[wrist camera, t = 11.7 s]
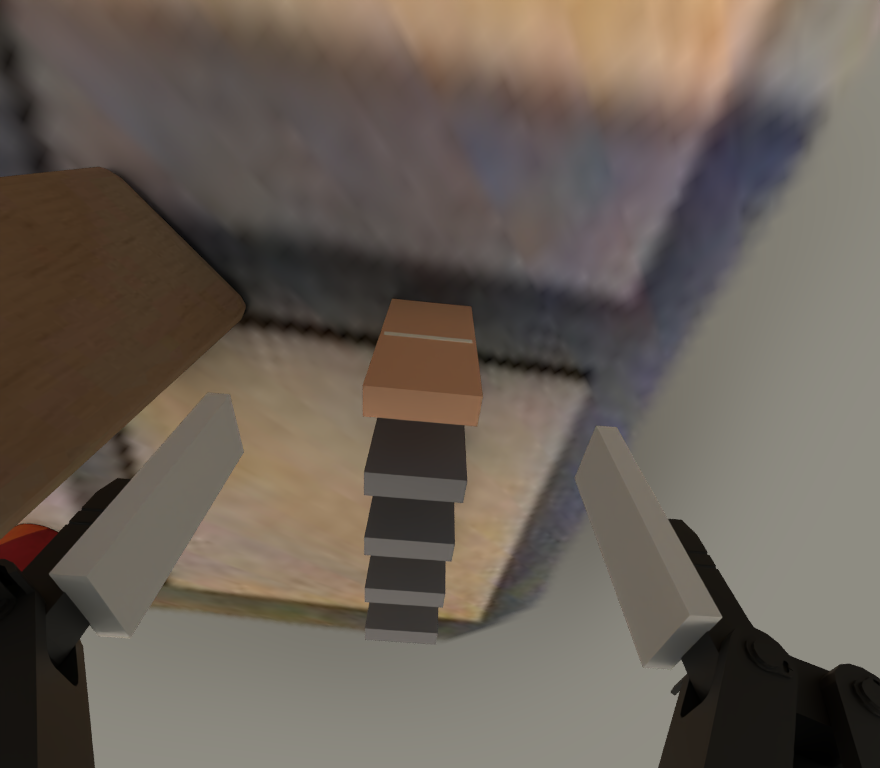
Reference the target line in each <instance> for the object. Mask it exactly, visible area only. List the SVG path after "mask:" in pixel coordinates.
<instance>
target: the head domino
mask: <svg viewBox="0 0 880 768" xmlns="http://www.w3.org/2000/svg"><path fill="white" fill-rule="evenodd" d="M482 398H483V394H482V386H481V378H480V370H479V363H478V355H477V347H476V339H475V331H474V324H473V316H472V308H471V306H461V305H451V304H441V303H431V302H421V301H411V300H401V299H392V300H391V303H390V306H389V309H388V312H387V315H386V318H385V321H384V324H383V327H382V330H381V333H380V336H379V339H378V342H377V345H376V348H375V350H374V353H373V356H372V359H371V362H370V365H369V368H368V371H367V374H366V377H365V380H364V383H363V416H366V417H377V418H388V419H399V420H411V421H422V422H433V423H444V424H455V425H466V426H477V424H478V419H479V414H480V409H481V404H482Z"/></svg>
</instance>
